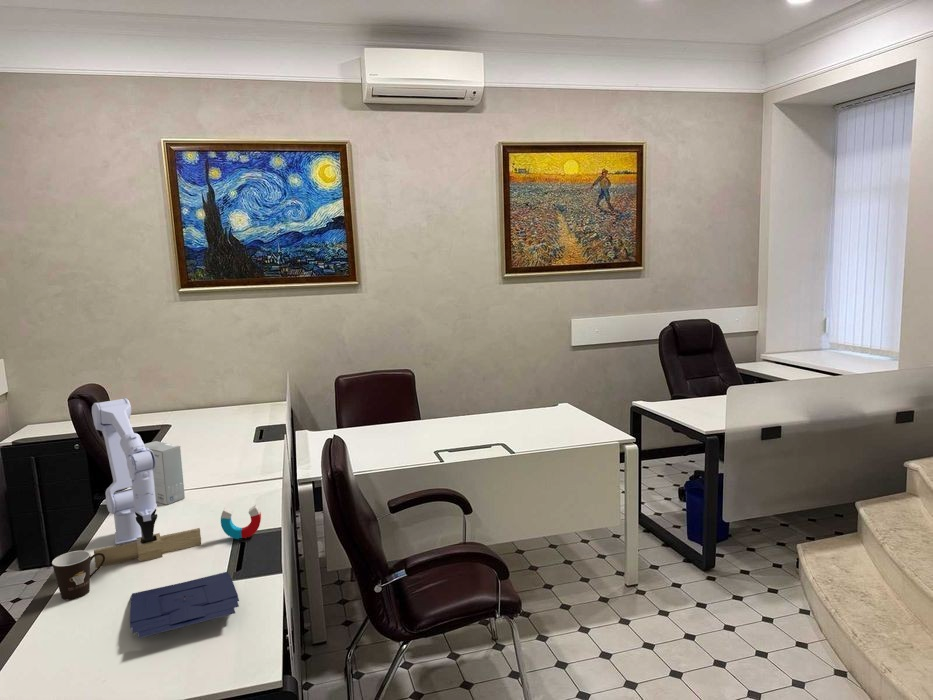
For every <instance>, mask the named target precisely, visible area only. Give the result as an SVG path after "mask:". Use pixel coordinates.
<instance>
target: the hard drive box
mask: <svg viewBox="0 0 933 700" xmlns="http://www.w3.org/2000/svg"><path fill="white" fill-rule="evenodd" d="M144 445H145V447H146V448H149V449H150V450H152V452H153V454H154V457H155V462H156V465H155V468H154V469H152V470H153V477H154V487H155V498H156V503H160V504H163V505H170V504H172V503H176V502H179V501H181V500H184V499H185V498H186V497H185V484H184V475H183V462H182V461H183V460H182V454H181V453H182V452H181V445H176V444H171V443H168V442H164V441H163V442H162V441H157V440H155V441H151V442H147V443H144Z"/></svg>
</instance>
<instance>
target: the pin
mask: <svg viewBox="0 0 933 700" xmlns="http://www.w3.org/2000/svg"><path fill="white" fill-rule="evenodd" d="M141 535H142V543H147V542H152V541H154V539H153V538H149V539H145V538H144V536H143V533H142V529H141Z"/></svg>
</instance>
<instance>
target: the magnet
mask: <svg viewBox="0 0 933 700" xmlns="http://www.w3.org/2000/svg"><path fill="white" fill-rule="evenodd" d="M233 512H234V511H233V510H232V509H230V508H228V507H226V506H225V507H224V508H223V511H222V513H221V515H220V526H221V528H222V530H223V532H224V533H225V534H226V536H228V537H230V538H232V539H235V540H240V539H239V538H245V539H248V538H250V537H252V536H253V535H254V534H256V533H257V531H258V529H259V528H260V525H261V522H262V513H261V510H260V507H259V505H258V504H254V505H253V506H252V507H250V508H249V510H248V515H249V517H250V522H249V524H248V525H247V526H245V527H240V526H237V525H235V524H234V522H233V521H232V515H233ZM247 537H248V538H247Z"/></svg>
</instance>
